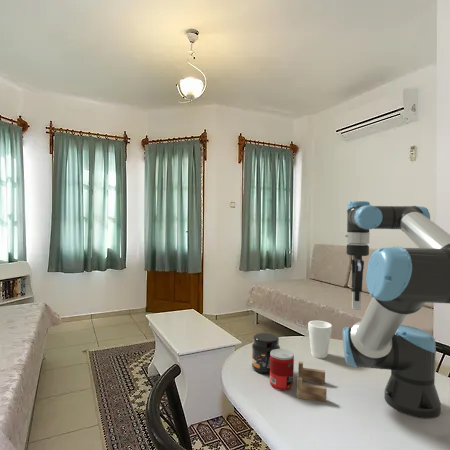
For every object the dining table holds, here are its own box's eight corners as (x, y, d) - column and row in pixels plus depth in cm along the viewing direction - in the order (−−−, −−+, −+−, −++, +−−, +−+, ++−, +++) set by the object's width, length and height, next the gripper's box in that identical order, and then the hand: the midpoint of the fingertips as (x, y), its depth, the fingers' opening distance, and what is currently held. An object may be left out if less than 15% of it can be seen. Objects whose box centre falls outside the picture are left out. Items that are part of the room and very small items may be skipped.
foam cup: (303, 351, 140) (304, 321, 139) (322, 349, 142) (322, 319, 142) (316, 361, 131) (316, 328, 130) (335, 358, 133) (336, 326, 133)
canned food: (291, 392, 107) (292, 359, 106) (267, 388, 109) (268, 355, 109) (294, 381, 114) (295, 350, 114) (271, 377, 116) (272, 347, 116)
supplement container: (248, 363, 128) (248, 333, 127) (273, 361, 130) (273, 331, 130) (256, 376, 117) (257, 343, 117) (284, 373, 120) (284, 341, 120)
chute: (324, 381, 114) (325, 364, 114) (326, 401, 101) (326, 382, 101) (298, 378, 116) (298, 361, 116) (296, 397, 104) (297, 378, 104)
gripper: (344, 242, 125) (343, 303, 125) (348, 245, 112) (347, 313, 113) (366, 243, 123) (364, 305, 124) (372, 246, 110) (370, 315, 111)
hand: (356, 309), depth 118 cm, fingers closed
